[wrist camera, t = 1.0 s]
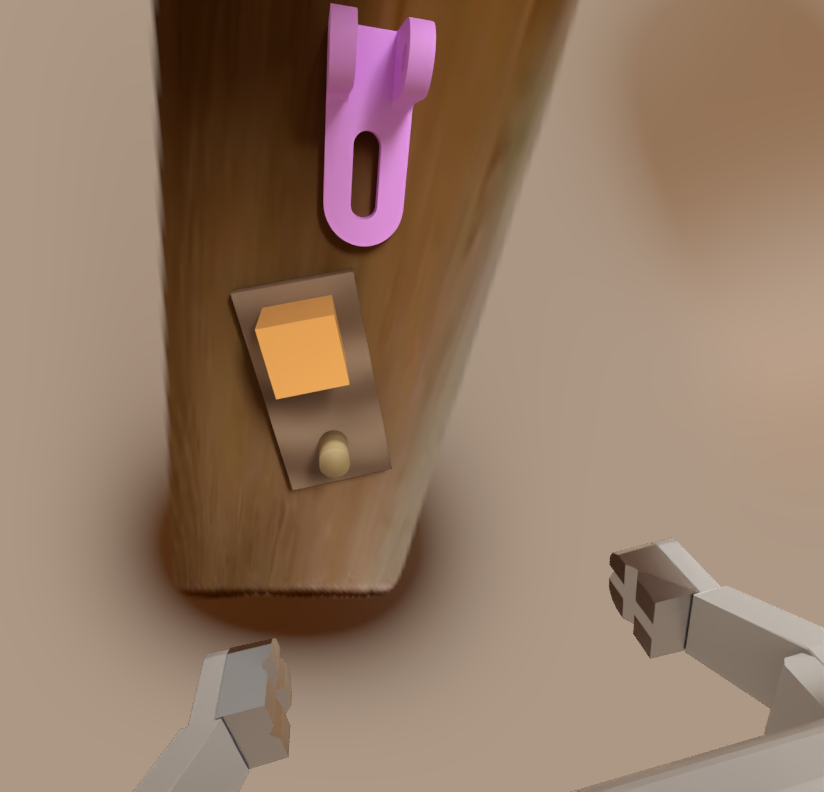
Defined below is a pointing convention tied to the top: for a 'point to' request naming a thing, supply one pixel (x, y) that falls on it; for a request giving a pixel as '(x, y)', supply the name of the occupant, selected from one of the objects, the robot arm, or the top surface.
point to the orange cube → (302, 347)
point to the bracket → (372, 115)
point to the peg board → (327, 409)
